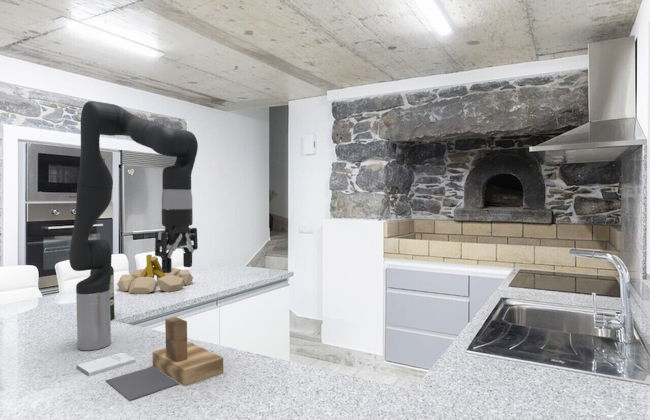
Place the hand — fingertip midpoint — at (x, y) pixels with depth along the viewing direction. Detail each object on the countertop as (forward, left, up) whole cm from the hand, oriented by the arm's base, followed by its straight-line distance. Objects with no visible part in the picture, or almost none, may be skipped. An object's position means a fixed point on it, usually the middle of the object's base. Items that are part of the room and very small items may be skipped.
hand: (177, 269), depth 111 cm
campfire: (-110, +44, -28) cm, 122 cm away
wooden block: (-2, +3, -28) cm, 28 cm away
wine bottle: (-68, +4, -28) cm, 74 cm away
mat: (-3, -9, -28) cm, 29 cm away
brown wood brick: (-2, 0, -24) cm, 24 cm away
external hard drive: (-21, -11, -29) cm, 37 cm away
